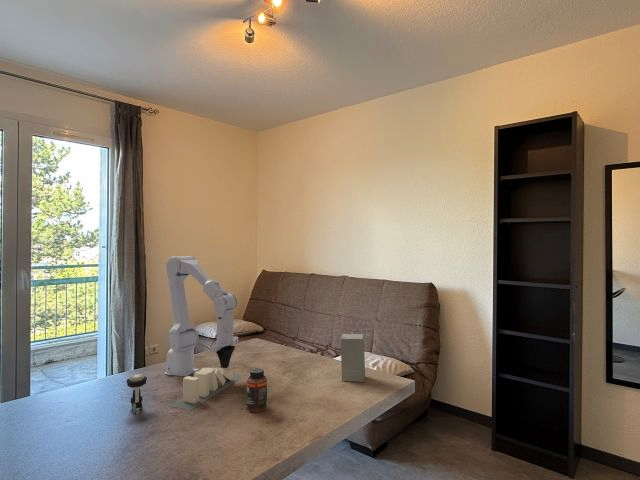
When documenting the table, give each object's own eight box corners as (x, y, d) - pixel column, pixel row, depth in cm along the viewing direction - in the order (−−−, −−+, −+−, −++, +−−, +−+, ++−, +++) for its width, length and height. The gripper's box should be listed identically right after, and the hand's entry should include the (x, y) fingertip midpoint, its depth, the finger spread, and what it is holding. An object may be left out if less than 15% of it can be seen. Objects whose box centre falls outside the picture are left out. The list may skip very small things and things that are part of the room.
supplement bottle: (270, 406, 109) (270, 368, 109) (261, 414, 103) (261, 374, 104) (253, 403, 111) (253, 365, 111) (242, 411, 105) (243, 372, 105)
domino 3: (203, 389, 120) (199, 371, 118) (206, 385, 122) (203, 367, 120) (214, 391, 119) (211, 372, 117) (218, 387, 121) (214, 368, 119)
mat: (168, 407, 108) (168, 406, 108) (226, 374, 136) (226, 373, 136) (191, 411, 105) (191, 410, 105) (244, 376, 133) (244, 375, 133)
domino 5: (220, 379, 130) (211, 373, 124) (222, 373, 131) (213, 367, 125) (231, 380, 128) (222, 374, 123) (233, 374, 129) (224, 368, 124)
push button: (148, 413, 104) (148, 378, 104) (126, 418, 101) (127, 381, 101) (145, 404, 109) (145, 371, 110) (125, 408, 107) (126, 374, 107)
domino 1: (182, 401, 111) (183, 378, 111) (187, 398, 113) (187, 376, 113) (194, 403, 109) (195, 380, 109) (199, 400, 111) (199, 377, 111)
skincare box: (365, 376, 134) (365, 333, 135) (364, 383, 127) (364, 338, 128) (342, 375, 136) (342, 332, 136) (340, 382, 129) (340, 337, 129)
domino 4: (212, 384, 125) (204, 372, 121) (214, 378, 126) (207, 367, 122) (223, 385, 123) (215, 374, 119) (225, 380, 125) (218, 368, 121)
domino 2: (193, 395, 116) (193, 373, 116) (197, 392, 117) (197, 371, 118) (205, 397, 114) (205, 374, 114) (209, 394, 116) (209, 372, 116)
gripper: (223, 334, 120) (222, 375, 120) (245, 325, 134) (245, 362, 134) (205, 332, 123) (204, 373, 122) (229, 324, 136) (228, 360, 136)
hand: (224, 367), depth 128 cm, fingers closed
